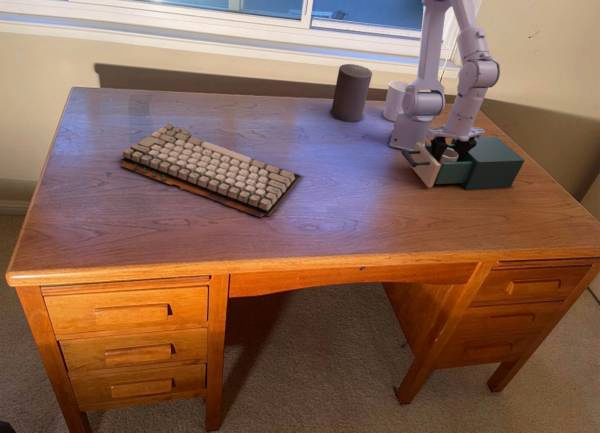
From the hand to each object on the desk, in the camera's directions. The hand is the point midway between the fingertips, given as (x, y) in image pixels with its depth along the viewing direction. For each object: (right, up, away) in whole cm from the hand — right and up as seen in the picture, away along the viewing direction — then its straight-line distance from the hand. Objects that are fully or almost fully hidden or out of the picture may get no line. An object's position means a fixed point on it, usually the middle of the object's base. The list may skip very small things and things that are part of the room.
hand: (443, 163), depth 108 cm
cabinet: (+10, -2, +6) cm, 12 cm away
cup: (0, -1, +1) cm, 1 cm away
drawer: (-3, -3, +1) cm, 4 cm away
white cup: (-7, +18, +27) cm, 33 cm away
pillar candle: (-22, +18, +24) cm, 37 cm away
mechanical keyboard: (-56, -3, -8) cm, 57 cm away
